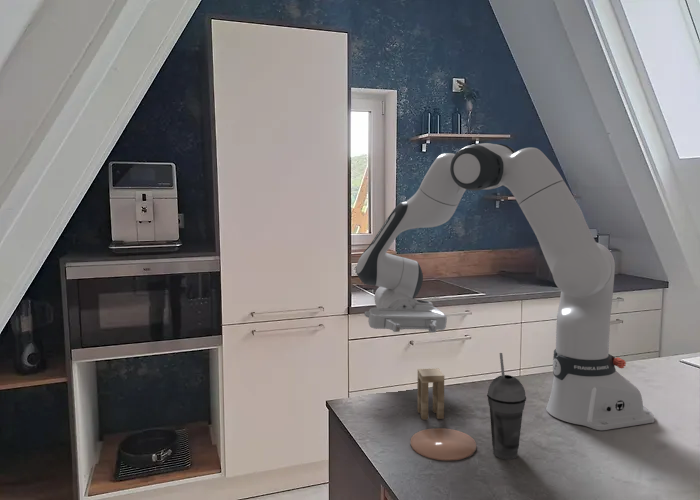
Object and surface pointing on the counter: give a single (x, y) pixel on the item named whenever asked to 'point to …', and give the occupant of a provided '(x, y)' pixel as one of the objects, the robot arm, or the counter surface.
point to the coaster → (443, 444)
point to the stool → (438, 392)
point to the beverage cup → (506, 413)
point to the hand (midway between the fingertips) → (415, 329)
